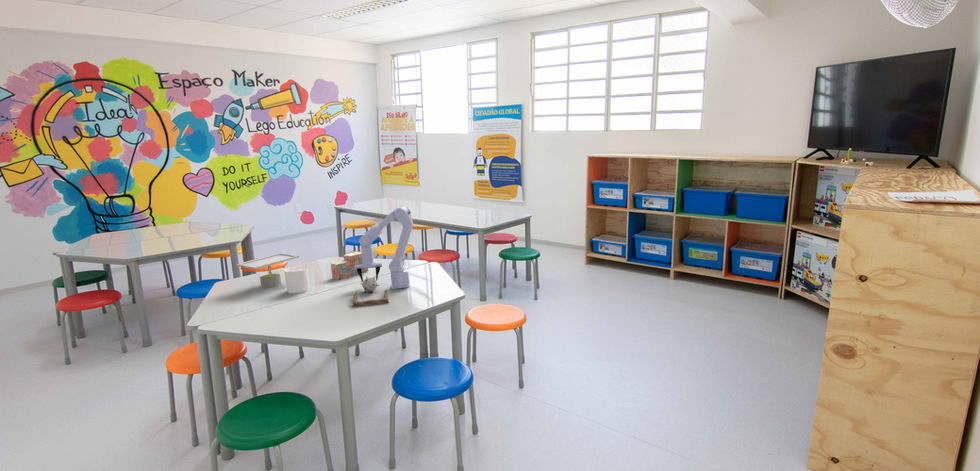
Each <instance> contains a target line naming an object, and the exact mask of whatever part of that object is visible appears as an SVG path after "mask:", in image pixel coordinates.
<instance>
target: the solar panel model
mask: <svg viewBox="0 0 980 471" xmlns="http://www.w3.org/2000/svg"><path fill="white" fill-rule="evenodd" d="M298 258H300V256H299V255H296V254H291V253H290V254H289V253H283V252H278V253H274V254H270V255H267V256H264V257H260V258H256V259H251V260H248V261H244V262H241V263H236V266H237V267H240V268H245V269H252V270H258V269H263V268H266V267H267V270H268V274H265V275H262V276H260V277H259V279H260V286H261V287H260V288H262V289H272V288H276V287H279V286H281V285H282V281H281V274H280V273H272V268H271V267H272V266H273V265H276V264H279V263H283V262H287V261H291V260H295V259H298Z"/></svg>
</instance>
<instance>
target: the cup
mask: <svg viewBox="0 0 980 471" xmlns="http://www.w3.org/2000/svg"><path fill="white" fill-rule="evenodd" d="M283 272H284V278H285V279H284V280H285V288H286V292H287V293H288V294H294V295H295V294H302V293H305V292H308V291H309V290H310V289H311V287H310V277H309V270H308V267H307V266H305V265H300V266H299V265H298V266H292V267H286V268H285V269H284V271H283Z"/></svg>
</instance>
